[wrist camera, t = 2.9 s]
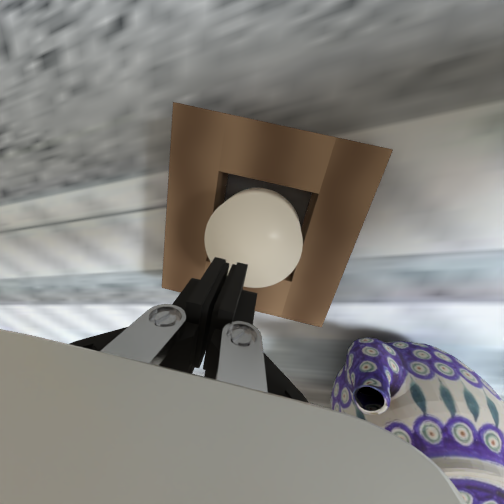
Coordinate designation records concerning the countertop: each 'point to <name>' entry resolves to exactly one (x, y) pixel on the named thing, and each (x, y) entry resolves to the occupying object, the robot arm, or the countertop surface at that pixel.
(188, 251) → the housing
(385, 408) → the teapot
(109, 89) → the countertop surface
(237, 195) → the button
